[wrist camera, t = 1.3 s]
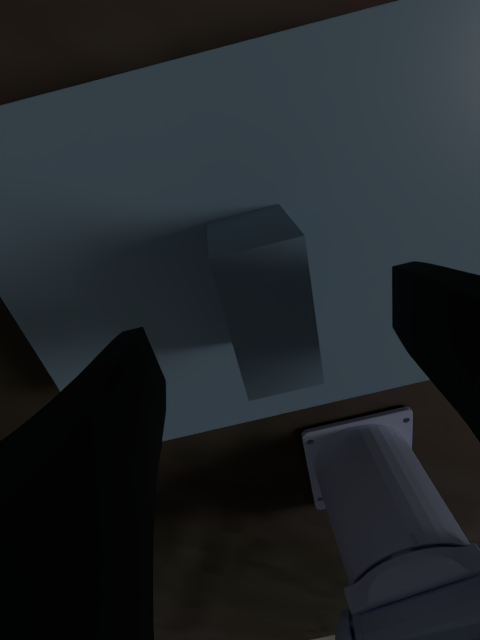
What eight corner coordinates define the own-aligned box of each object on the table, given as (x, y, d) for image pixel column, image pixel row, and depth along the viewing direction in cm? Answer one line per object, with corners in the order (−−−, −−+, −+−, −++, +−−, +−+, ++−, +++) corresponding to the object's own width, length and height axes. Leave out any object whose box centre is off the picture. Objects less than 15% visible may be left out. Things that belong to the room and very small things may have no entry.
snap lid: (451, 344, 18) (537, 425, 14) (110, 423, 19) (80, 528, 14) (485, -15, 11) (689, -102, 7) (-60, 129, 12) (-231, 143, 7)
